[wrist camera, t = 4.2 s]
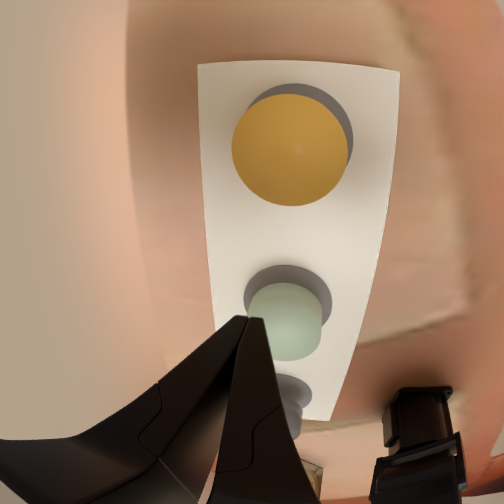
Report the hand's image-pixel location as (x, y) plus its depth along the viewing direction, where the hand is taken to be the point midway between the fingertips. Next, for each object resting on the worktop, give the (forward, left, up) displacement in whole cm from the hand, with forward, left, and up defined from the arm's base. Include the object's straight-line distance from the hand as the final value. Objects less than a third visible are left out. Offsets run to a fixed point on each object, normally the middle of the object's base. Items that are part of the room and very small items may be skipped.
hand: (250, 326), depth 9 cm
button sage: (0, +6, -8) cm, 10 cm away
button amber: (0, -4, -7) cm, 8 cm away
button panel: (0, +6, -12) cm, 13 cm away
